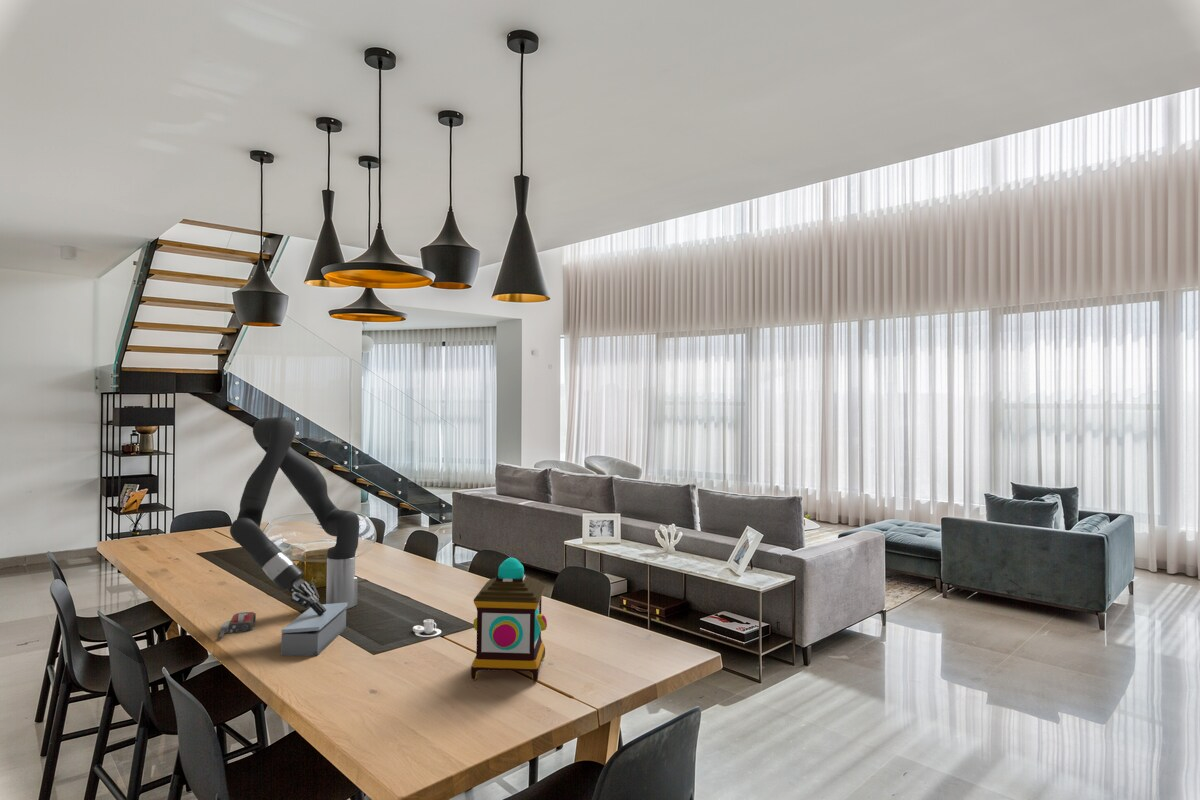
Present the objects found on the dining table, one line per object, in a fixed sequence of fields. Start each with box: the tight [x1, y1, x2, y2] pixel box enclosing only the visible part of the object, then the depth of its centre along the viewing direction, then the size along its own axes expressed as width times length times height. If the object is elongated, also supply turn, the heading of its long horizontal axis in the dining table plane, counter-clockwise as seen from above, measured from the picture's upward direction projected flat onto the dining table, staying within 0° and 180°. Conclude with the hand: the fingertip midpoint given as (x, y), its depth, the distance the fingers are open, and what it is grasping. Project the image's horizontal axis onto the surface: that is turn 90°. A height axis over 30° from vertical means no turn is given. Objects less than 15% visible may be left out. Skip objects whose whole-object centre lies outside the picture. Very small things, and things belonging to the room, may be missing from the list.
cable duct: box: [280, 609, 347, 657], centre depth 207 cm, size 10×24×6 cm, turn 2°
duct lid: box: [280, 603, 348, 634], centre depth 207 cm, size 10×24×1 cm, turn 2°
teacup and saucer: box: [412, 618, 442, 638], centre depth 216 cm, size 9×8×4 cm
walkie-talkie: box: [218, 611, 257, 640], centre depth 216 cm, size 9×4×20 cm
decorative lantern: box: [470, 557, 548, 683], centre depth 188 cm, size 20×20×30 cm
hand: (323, 613), depth 207 cm, fingers closed
